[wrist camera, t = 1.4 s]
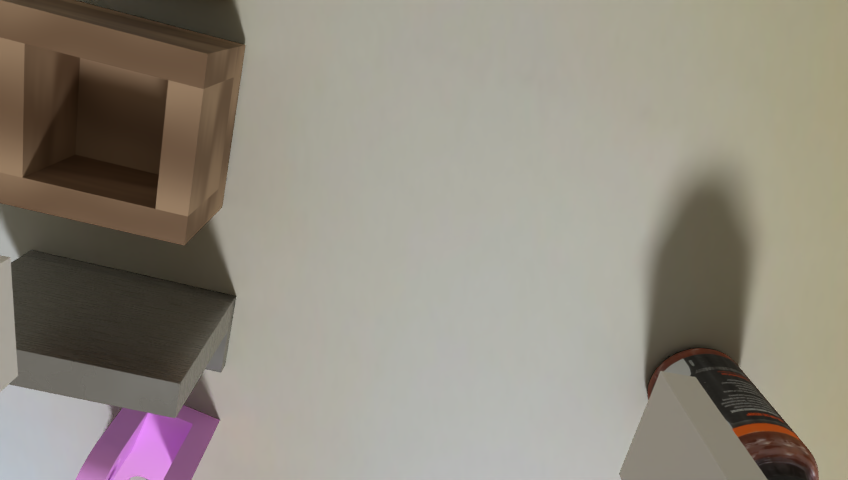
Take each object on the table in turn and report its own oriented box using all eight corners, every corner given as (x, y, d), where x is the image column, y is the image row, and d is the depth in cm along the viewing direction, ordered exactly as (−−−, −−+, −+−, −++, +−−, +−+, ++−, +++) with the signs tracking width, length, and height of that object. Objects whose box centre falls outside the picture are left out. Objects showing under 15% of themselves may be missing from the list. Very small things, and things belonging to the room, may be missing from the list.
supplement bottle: (635, 358, 38) (716, 494, 28) (731, 332, 37) (852, 461, 27) (652, 432, 40) (734, 584, 30) (743, 408, 39) (860, 557, 29)
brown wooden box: (65, -3, 30) (-13, -4, 25) (245, 44, 31) (207, 54, 26) (58, 168, 33) (-12, 200, 28) (222, 207, 34) (184, 245, 29)
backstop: (30, 250, 35) (-92, 327, 27) (236, 296, 36) (180, 383, 28) (29, 323, 37) (-86, 416, 29) (224, 365, 38) (169, 466, 30)
